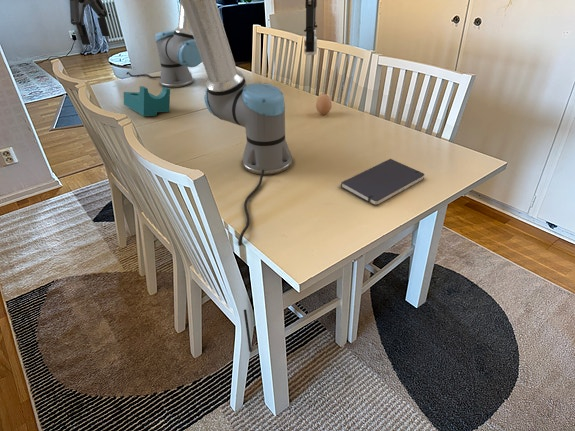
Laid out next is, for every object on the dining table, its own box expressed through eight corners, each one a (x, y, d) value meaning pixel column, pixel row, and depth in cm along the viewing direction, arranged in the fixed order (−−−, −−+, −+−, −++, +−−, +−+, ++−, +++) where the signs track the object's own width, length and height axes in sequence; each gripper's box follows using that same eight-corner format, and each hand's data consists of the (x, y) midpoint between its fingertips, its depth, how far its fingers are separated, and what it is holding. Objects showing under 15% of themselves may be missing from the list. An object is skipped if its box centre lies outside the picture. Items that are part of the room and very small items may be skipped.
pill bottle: (304, 52, 145) (304, 29, 140) (316, 52, 144) (317, 28, 140) (304, 55, 141) (304, 31, 137) (316, 55, 141) (317, 31, 136)
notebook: (389, 163, 124) (340, 187, 113) (390, 158, 123) (341, 182, 112) (424, 178, 116) (375, 206, 105) (425, 174, 115) (376, 201, 104)
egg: (320, 118, 154) (320, 97, 149) (313, 113, 158) (313, 93, 154) (334, 115, 156) (335, 95, 151) (326, 110, 160) (327, 90, 156)
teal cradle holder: (169, 115, 164) (170, 89, 159) (143, 115, 156) (144, 88, 152) (148, 104, 174) (148, 79, 170) (123, 104, 167) (123, 78, 163)
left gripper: (87, -30, 149) (104, 32, 161) (45, -22, 129) (67, 48, 141) (106, -30, 148) (121, 32, 160) (66, -22, 128) (87, 48, 140)
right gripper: (302, -30, 136) (302, 43, 149) (297, -25, 122) (297, 56, 135) (324, -30, 135) (322, 44, 148) (321, -25, 121) (319, 56, 134)
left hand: (96, 40), depth 151 cm, fingers open, 13 cm apart
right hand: (310, 49), depth 142 cm, fingers closed on pill bottle, 4 cm apart
